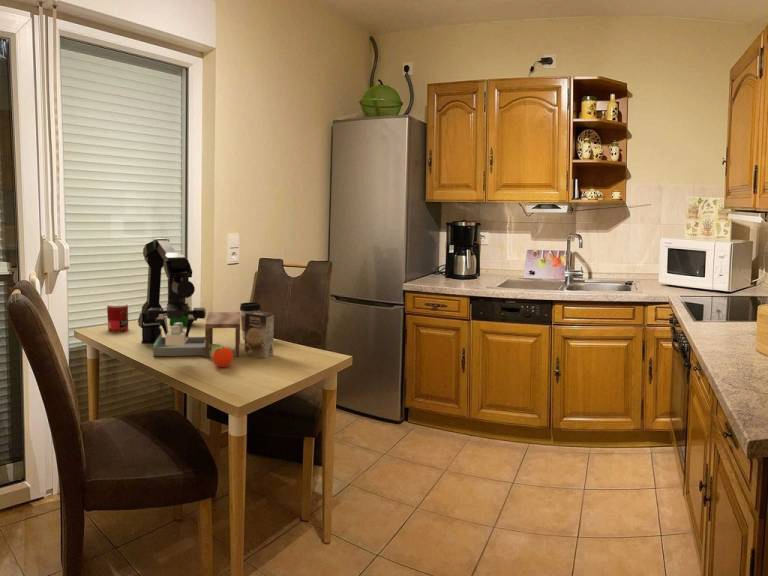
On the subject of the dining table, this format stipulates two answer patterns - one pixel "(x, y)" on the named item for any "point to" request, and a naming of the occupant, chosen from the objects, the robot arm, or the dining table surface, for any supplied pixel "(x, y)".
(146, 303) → the robot arm
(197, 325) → the dining table surface
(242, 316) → the black lidded jar
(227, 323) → the wooden stand
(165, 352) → the drawer
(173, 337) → the cream toy brick
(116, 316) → the canned food
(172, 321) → the milk carton
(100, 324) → the dining table surface
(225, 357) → the clementine
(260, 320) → the coffee box
